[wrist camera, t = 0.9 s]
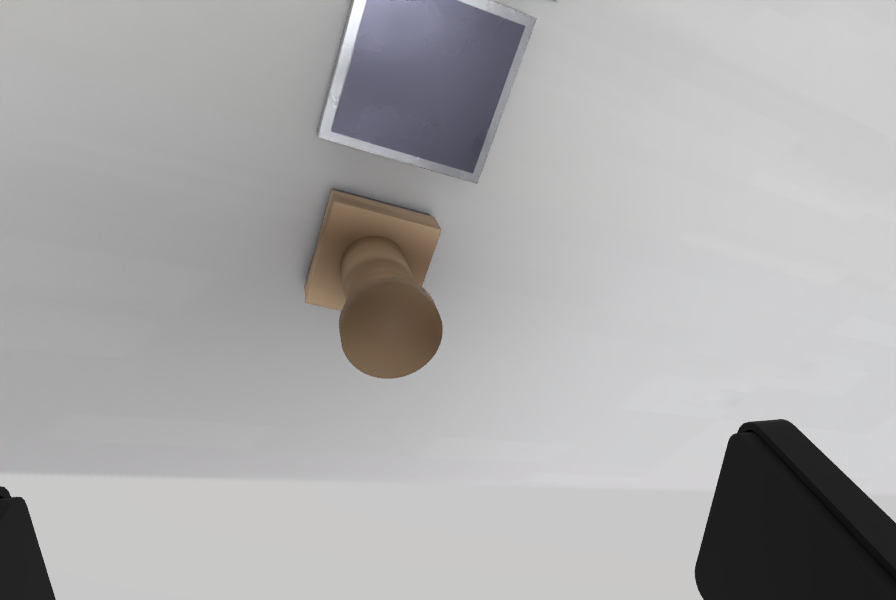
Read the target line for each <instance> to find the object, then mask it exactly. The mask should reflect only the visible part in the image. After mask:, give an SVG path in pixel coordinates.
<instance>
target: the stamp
mask: <svg viewBox="0 0 896 600" xmlns="http://www.w3.org/2000/svg"><path fill="white" fill-rule="evenodd" d="M440 232H441V228H440V226H439V225H438V223H437V221H436V219H435V218H434V217H432V216H430V215H429V214H426V213H422V212H418V211H415V210H411V209H407V208H403V207H400V206H396V205H392V204H389V203H385V202H381V201H377V200H374V199H370V198H366V197H363V196H359V195H355V194H352V193H348V192H344V191H340V190H337V189H332V191H331V195H330V198H329V202H328V205H327V209H326V212H325V216H324V219H323V223H322V227H321V230H320V234H319V237H318V241H317V244H316V248H315V251H314V255H313V259H312V262H311V266H310V269H309V273H308V276H307V280H306V283H305V303H308V304H313V305H318V306H322V307H327V308H332V309H337V310H341V314H340V319H339V329H340V337H341V343H342V348H343V351H344V353H345V355H346V357H347V359H348V360H349V361H350V362H351V364H352V365H353V366H355V367H356V368H357V369H358V370H360V371H361V372H363V373H365V374H367V375H370V376H373V377H377V378H398V377H403V376H406V375H409V374H411V373H413V372H416V371H417V370H419V369H420V368H422V367H423V366H424V365H426V364H427V363H428V362H429V361H430V360H431V359H432V357H433V356H434V355H435V353H436V351H437V350H438V347H439V345H440V342H441V339H442V321H441V318H440V315H439V313H438V311H437V308H436V306H435V304H434V301H433V299H432V298H431V296H430V295H429V294H428V293H427V291H426V290H425V289H423V288H422V284H423V281H424V278H425V275H426V273H427V270H428V267H429V264H430V261H431V258H432V255H433V253H434V250H435V247H436V244H437V241H438V238H439V235H440Z"/></svg>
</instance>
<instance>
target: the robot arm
mask: <svg viewBox="0 0 896 600" xmlns="http://www.w3.org/2000/svg"><path fill="white" fill-rule="evenodd" d="M695 579H696V584H697V587H698V590H699V592H700V594H701V596H702V598H703V599H704V600H896V523H895V522H894V521H893V520H892V519H891V518H890V517H889V516H888V515H887V514H886V513H885V512H884V511H883V510H881V508H879V507H878V506H877V505H876V504H875V503H874V502H873V501H872V500H871V499H870V498H869V497H868V496H867V495H866V494H865V493H864V492H863V491H862V490H861V489H860V488H859V487H858V486H857V485H856V484H855V483H854V482H852V481H851V480H850V479H849V478H848V477H847V476H846V475H845V474H844V473H843V472H842V471H841V470H840V469H839V468H838V467H837V466H836V465H835V464H834V463H833V462H832V461H831V460H830V459H829V458H828V457H827V456H826V455H824V454H823V453H822V452H821V451H820V450H819V449H818V448H817V447H816V446H815V445H814V444H813V443H812V442H811V441H810V440H809V439H808V438H807V437H806V436H805V435H804V434H803V433H802V432H801V431H800V430H799V429H797V428H796V427H795V426H794V425H793V424H792V423H790V422H789V421H787V420H783V419H779V420H767V421H755V422H747V423H744V424H743V425H742V426H741V427H740V428H739V430H738V432H737V433H736V434H733V435H732V436H731V437H730V439H729V441H728V445H727V449H726V452H725V456H724V460H723V464H722V468H721V471H720V475H719V479H718V483H717V486H716V490H715V494H714V498H713V502H712V506H711V509H710V513H709V517H708V521H707V524H706V528H705V532H704V536H703V540H702V544H701V548H700V551H699V555H698V558H697V562H696V567H695ZM0 600H55V596H54V593H53V590H52V586H51V583H50V580H49V577H48V574H47V570H46V567H45V563H44V560H43V557H42V554H41V550H40V547H39V544H38V541H37V537H36V534H35V531H34V527H33V524H32V521H31V517H30V514H29V511H28V508H27V505H26V503H25V500H24V499H23V498H22V497H11V496H10V494H9V491H8V490H7V489H5V487H1V486H0Z"/></svg>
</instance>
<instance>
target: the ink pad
mask: <svg viewBox="0 0 896 600" xmlns="http://www.w3.org/2000/svg"><path fill="white" fill-rule="evenodd" d="M536 19H537V18H534V17H532V16H529V15H526V14H524V13H521V12H519V11H516V10H513V9H511V8H508V7H506V6H503V5H501V4H498V3H495V2H493V1H490V0H352V1H351V5H350V9H349V13H348V16H347V20H346V24H345V28H344V31H343V35H342V39H341V43H340V47H339V50H338V54H337V58H336V62H335V66H334V69H333V73H332V77H331V81H330V84H329V88H328V92H327V96H326V100H325V103H324V107H323V111H322V115H321V118H320V122H319V126H318V130H317V134H318V137H319V138H322V139H326V140H329V141H333V142H336V143H339V144H343V145H346V146H350V147H353V148H357V149H360V150H363V151H367V152H370V153H374V154H377V155H380V156H384V157H387V158H391V159H394V160H398V161H401V162H404V163H408V164H411V165H415V166H418V167H422V168H425V169H428V170H432V171H435V172H439V173H442V174H446V175H449V176H452V177H456V178H459V179H463V180H466V181H470V182H473V183H476V184H477V183H478V180H479V177H480V174H481V171H482V169H483V166H484V163H485V160H486V158H487V155H488V152H489V149H490V146H491V144H492V141H493V138H494V135H495V133H496V130H497V127H498V124H499V121H500V119H501V116H502V113H503V110H504V108H505V105H506V102H507V99H508V96H509V94H510V91H511V88H512V85H513V83H514V80H515V77H516V74H517V71H518V69H519V66H520V63H521V60H522V58H523V55H524V52H525V49H526V46H527V44H528V41H529V38H530V35H531V32H532V30H533V27H534V24H535V21H536Z"/></svg>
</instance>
